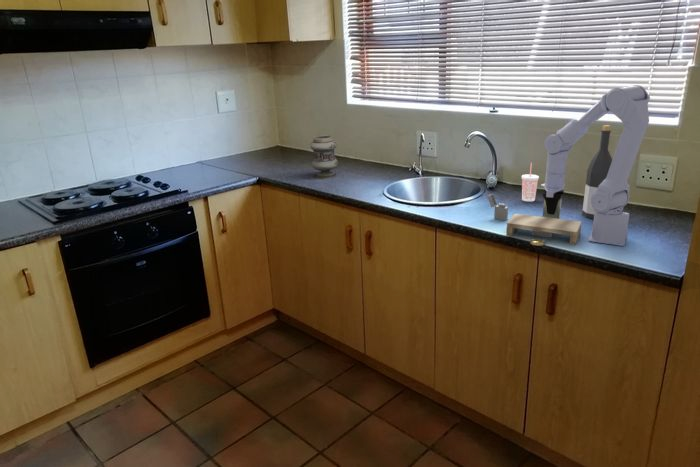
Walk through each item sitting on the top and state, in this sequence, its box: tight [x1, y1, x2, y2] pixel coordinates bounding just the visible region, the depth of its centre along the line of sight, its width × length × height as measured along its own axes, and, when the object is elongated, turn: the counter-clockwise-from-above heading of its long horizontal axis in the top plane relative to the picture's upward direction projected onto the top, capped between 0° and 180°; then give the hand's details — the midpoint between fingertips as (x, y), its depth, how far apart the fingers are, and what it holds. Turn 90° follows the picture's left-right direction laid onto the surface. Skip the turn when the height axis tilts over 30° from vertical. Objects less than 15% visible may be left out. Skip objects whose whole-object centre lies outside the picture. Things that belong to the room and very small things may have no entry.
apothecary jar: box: [310, 134, 339, 179], centre depth 241 cm, size 12×12×18 cm
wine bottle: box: [581, 124, 613, 220], centre depth 172 cm, size 8×8×30 cm
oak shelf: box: [505, 213, 582, 246], centre depth 162 cm, size 20×10×4 cm, turn 60°
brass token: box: [530, 238, 546, 247], centre depth 157 cm, size 4×4×1 cm
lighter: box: [486, 193, 509, 221], centre depth 178 cm, size 7×2×8 cm, turn 47°
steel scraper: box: [532, 198, 563, 239], centre depth 166 cm, size 6×15×8 cm, turn 150°
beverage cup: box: [521, 162, 540, 203], centre depth 195 cm, size 6×6×14 cm
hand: (551, 212), depth 172 cm, fingers closed on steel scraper, 2 cm apart
